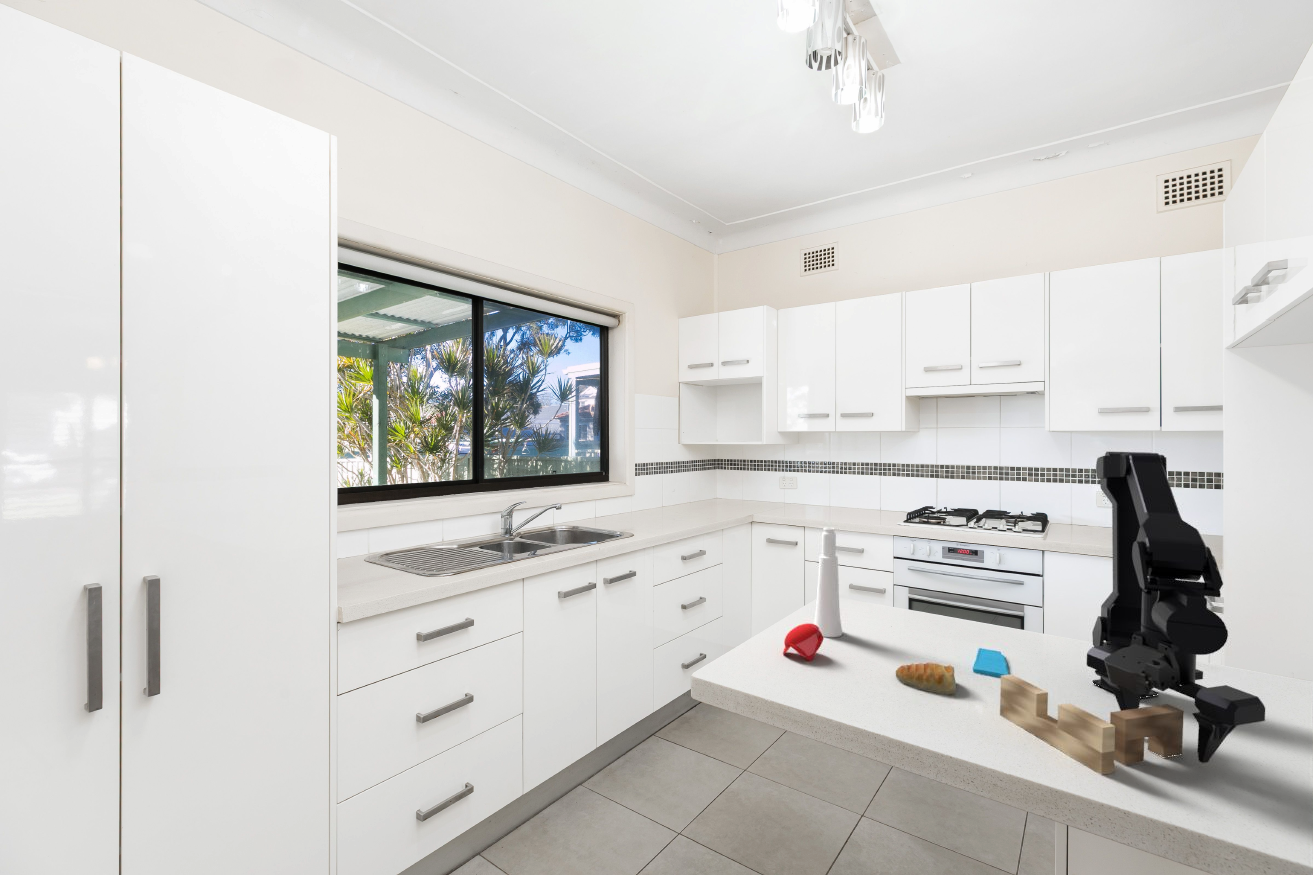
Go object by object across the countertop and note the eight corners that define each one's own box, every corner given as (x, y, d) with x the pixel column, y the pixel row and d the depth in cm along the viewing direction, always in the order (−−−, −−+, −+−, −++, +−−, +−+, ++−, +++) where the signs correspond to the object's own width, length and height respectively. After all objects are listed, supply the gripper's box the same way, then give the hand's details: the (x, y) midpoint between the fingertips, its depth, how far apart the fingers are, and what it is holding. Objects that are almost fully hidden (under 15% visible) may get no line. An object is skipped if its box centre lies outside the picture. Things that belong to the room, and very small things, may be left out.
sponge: (1013, 654, 114) (978, 644, 117) (1010, 676, 104) (972, 665, 107) (1012, 661, 114) (977, 651, 117) (1009, 685, 104) (971, 673, 107)
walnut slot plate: (1166, 746, 83) (1167, 703, 83) (1182, 754, 81) (1183, 710, 81) (1109, 756, 80) (1110, 712, 80) (1124, 764, 79) (1125, 719, 78)
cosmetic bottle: (843, 638, 123) (845, 531, 123) (812, 636, 125) (814, 529, 124) (841, 628, 129) (843, 526, 128) (812, 626, 130) (813, 524, 130)
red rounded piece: (824, 633, 117) (798, 614, 119) (830, 633, 112) (802, 613, 113) (802, 668, 116) (775, 649, 117) (807, 670, 110) (778, 650, 112)
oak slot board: (999, 714, 92) (1000, 675, 92) (1010, 712, 92) (1011, 674, 92) (1101, 774, 76) (1102, 727, 76) (1113, 772, 77) (1115, 725, 77)
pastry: (895, 687, 101) (895, 665, 101) (895, 672, 108) (896, 651, 107) (957, 698, 98) (958, 674, 98) (954, 681, 104) (955, 659, 104)
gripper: (1058, 611, 88) (1055, 717, 89) (1202, 661, 70) (1197, 793, 71) (1117, 606, 91) (1114, 708, 91) (1270, 652, 73) (1265, 780, 73)
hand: (1164, 743), depth 82 cm, fingers open, 9 cm apart
